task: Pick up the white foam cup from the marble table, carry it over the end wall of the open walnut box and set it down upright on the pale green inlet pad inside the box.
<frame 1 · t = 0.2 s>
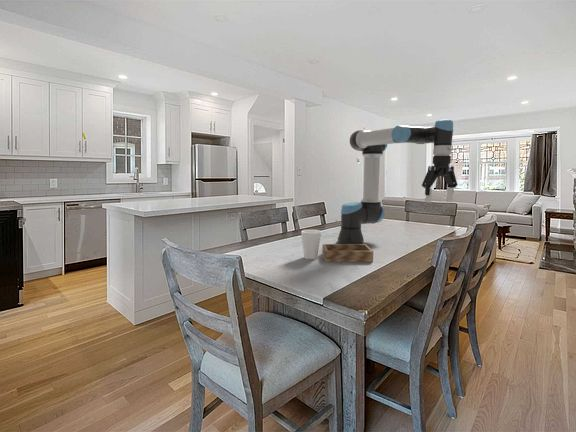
hand: (438, 202, 155), 28 cm above the table, fingers open, 13 cm apart
walnut box: (346, 257, 163), on the table
foam cup: (310, 258, 163), on the table
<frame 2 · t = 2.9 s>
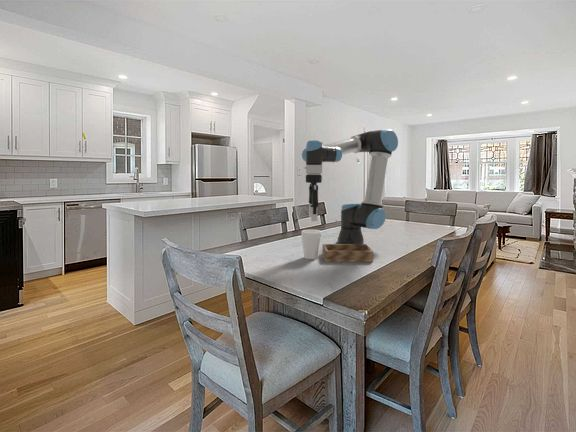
hand: (312, 219, 160), 19 cm above the table, fingers open, 13 cm apart
nothing on the table moved.
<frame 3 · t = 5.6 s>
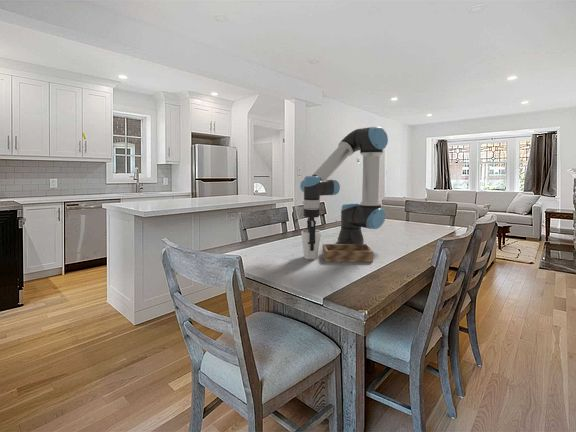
hand: (310, 254, 162), 2 cm above the table, fingers closed on foam cup, 9 cm apart
foam cup: (310, 258, 163), on the table, touching gripper
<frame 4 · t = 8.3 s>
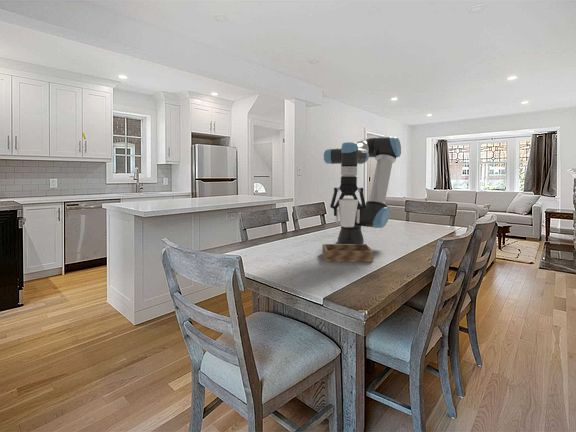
hand: (347, 222, 161), 17 cm above the table, fingers closed on foam cup, 9 cm apart
foam cup: (347, 226, 161), point 15 cm above the table, touching gripper
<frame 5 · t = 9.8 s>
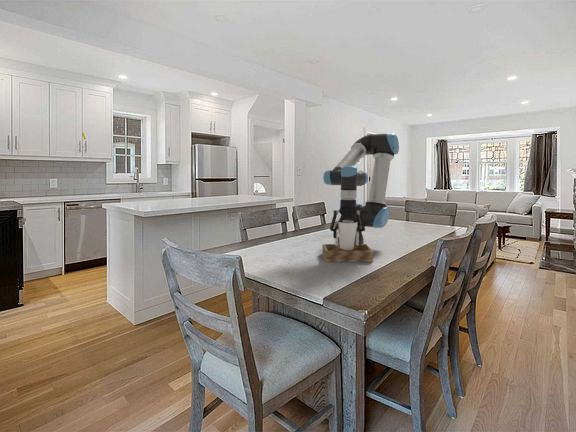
hand: (346, 245, 162), 6 cm above the table, fingers closed on foam cup, 9 cm apart
foam cup: (346, 248, 162), point 4 cm above the table, touching gripper
when the fingers open (5 cm above the table, at t = 10.9 s): foam cup drops 2 cm, resting on walnut box.
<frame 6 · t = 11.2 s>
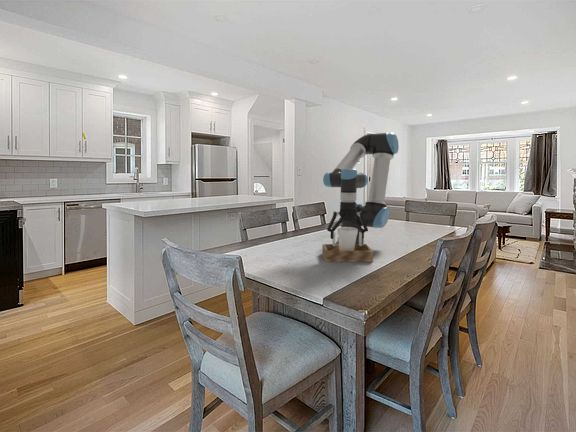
hand: (346, 245, 162), 6 cm above the table, fingers open, 12 cm apart
foam cup: (346, 255, 163), point 1 cm above the table, touching walnut box
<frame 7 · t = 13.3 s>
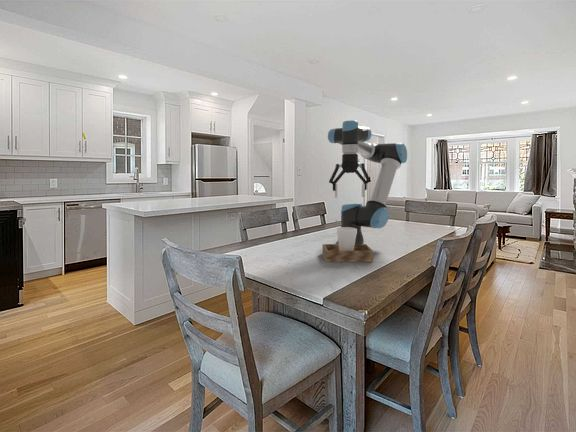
hand: (349, 197, 166), 29 cm above the table, fingers open, 13 cm apart
nothing on the table moved.
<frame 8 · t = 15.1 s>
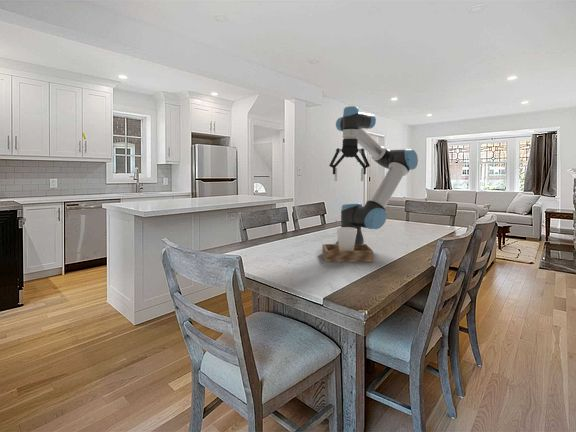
hand: (348, 181, 171), 37 cm above the table, fingers open, 13 cm apart
nothing on the table moved.
at the end: foam cup 0.1 cm from the walnut box (horizontally); foam cup touching walnut box; foam cup tilted 0° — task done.
